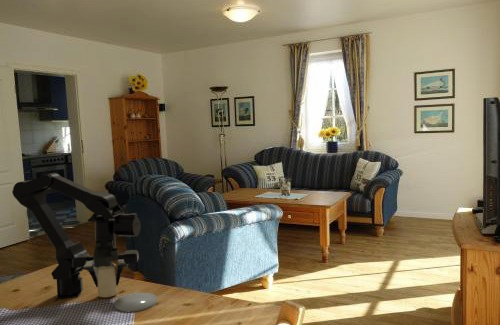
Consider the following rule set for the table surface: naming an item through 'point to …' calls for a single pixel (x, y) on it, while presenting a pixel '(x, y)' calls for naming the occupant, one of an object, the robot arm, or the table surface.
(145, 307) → the slate plate
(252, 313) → the table surface
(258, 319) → the table surface
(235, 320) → the table surface
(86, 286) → the table surface
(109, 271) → the candle
